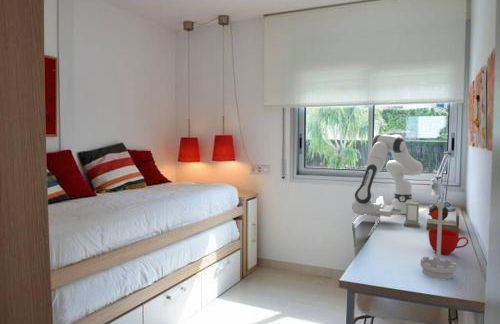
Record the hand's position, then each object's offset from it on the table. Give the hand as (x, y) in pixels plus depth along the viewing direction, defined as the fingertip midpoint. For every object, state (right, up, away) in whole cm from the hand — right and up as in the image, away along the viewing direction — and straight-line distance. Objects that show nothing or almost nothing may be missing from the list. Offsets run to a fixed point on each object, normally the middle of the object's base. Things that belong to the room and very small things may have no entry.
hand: (400, 212), depth 239 cm
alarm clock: (+29, -8, +8) cm, 31 cm away
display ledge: (+21, -9, -10) cm, 25 cm away
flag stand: (-20, -14, -87) cm, 90 cm away
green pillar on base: (+6, -8, -3) cm, 11 cm away
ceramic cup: (-1, -12, -59) cm, 61 cm away
